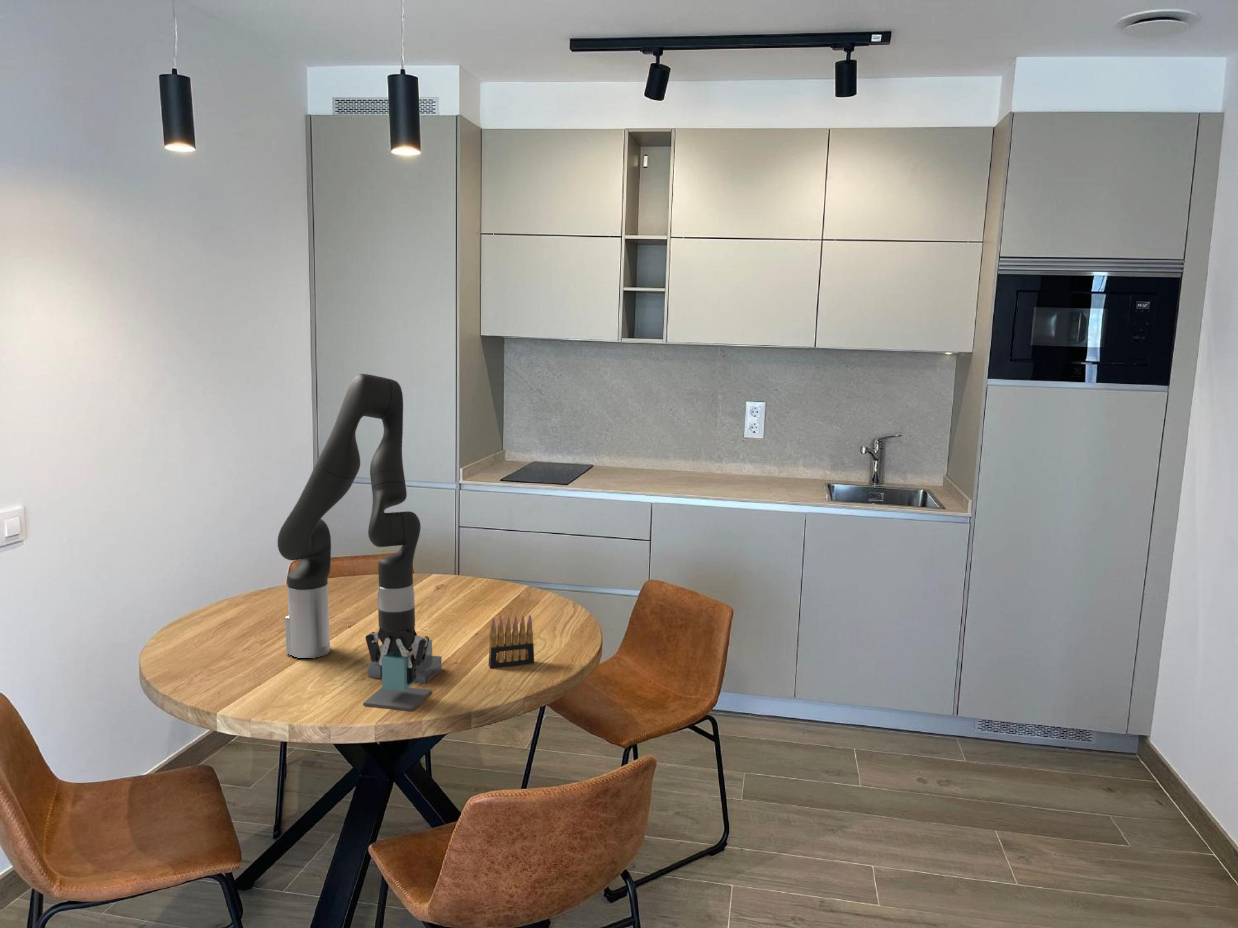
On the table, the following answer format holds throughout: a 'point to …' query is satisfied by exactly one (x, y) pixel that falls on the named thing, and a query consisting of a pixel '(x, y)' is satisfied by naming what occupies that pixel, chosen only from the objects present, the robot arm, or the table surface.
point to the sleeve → (394, 672)
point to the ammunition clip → (511, 644)
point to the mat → (398, 698)
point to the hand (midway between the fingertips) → (398, 681)
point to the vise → (422, 671)
